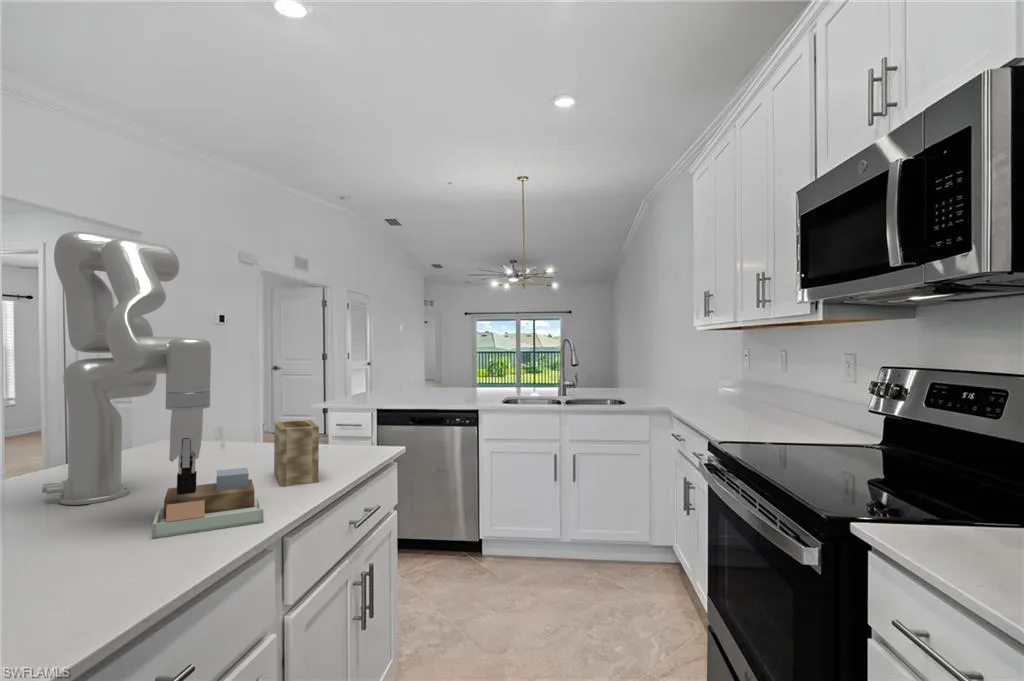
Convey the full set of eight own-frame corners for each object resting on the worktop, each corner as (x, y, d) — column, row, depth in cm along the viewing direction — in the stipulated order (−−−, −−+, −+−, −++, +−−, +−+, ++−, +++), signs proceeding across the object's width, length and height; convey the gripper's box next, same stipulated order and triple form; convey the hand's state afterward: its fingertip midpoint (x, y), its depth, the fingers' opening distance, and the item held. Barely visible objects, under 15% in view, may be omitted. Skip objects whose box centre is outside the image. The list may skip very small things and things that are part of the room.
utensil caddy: (279, 486, 128) (280, 429, 128) (274, 474, 140) (274, 421, 140) (318, 482, 132) (318, 426, 132) (309, 470, 144) (310, 419, 144)
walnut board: (163, 521, 103) (164, 500, 103) (167, 507, 111) (168, 488, 111) (254, 508, 110) (254, 489, 110) (251, 496, 119) (251, 479, 119)
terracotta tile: (168, 508, 100) (168, 524, 99) (166, 504, 95) (165, 521, 94) (204, 503, 103) (204, 519, 102) (204, 500, 98) (204, 516, 97)
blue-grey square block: (216, 490, 110) (216, 476, 110) (216, 484, 115) (216, 470, 115) (248, 487, 113) (248, 473, 113) (246, 480, 118) (247, 467, 118)
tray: (152, 538, 93) (152, 524, 93) (157, 522, 102) (157, 509, 102) (263, 522, 102) (263, 509, 102) (259, 508, 110) (259, 497, 111)
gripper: (168, 397, 108) (167, 485, 108) (162, 405, 95) (160, 506, 95) (210, 396, 112) (208, 481, 112) (209, 404, 99) (207, 500, 99)
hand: (186, 492), depth 104 cm, fingers closed
